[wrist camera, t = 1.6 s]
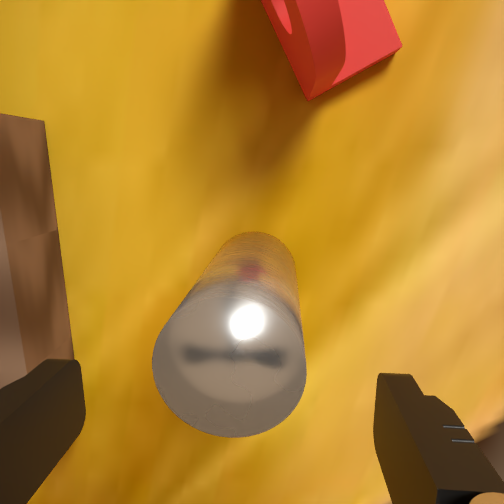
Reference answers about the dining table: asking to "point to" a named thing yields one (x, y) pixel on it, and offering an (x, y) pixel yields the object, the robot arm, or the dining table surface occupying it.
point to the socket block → (29, 254)
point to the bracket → (332, 38)
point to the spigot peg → (235, 342)
